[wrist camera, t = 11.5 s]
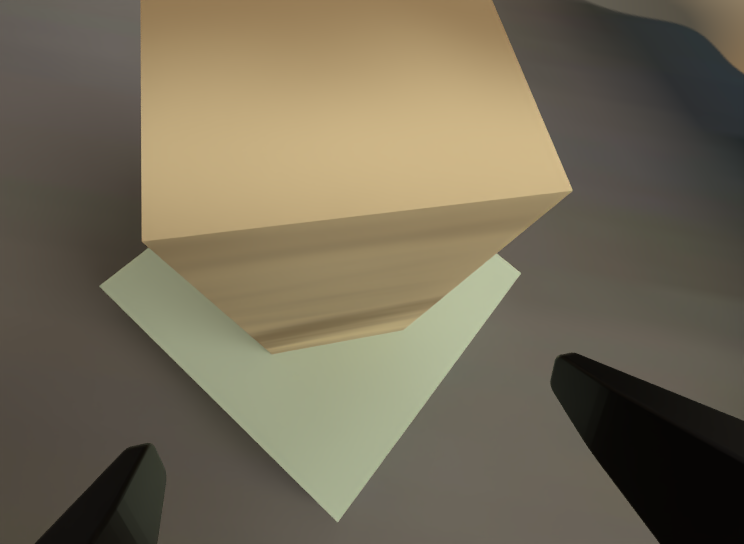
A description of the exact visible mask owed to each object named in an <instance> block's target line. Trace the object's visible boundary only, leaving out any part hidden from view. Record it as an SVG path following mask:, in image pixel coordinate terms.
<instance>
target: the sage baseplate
mask: <svg viewBox="0 0 744 544" xmlns="http://www.w3.org/2000/svg"><path fill="white" fill-rule="evenodd" d="M520 274H521V273H520V272H519V271H517V270H516V269H515V268H514V267H513V266H511V265H510V264H509V263H508V262H506V261H505V260H504V259H503V258H501V257H500V256H499V255H498V254H495V255H494V256H493V257H492V258H490V259H489V260H488V261H487V262H485V263H484V264H483V265H482V266H481V267H479V268H478V269H477V270H476V271H475V272H473V273H472V274H471V275H470V276H468V277H467V278H466V279H465V280H464V281H462V282H461V283H460V284H459V285H458V286H456V287H455V288H454V289H453V290H451V291H450V292H449V293H448V294H447V295H445V296H444V297H443V298H442V299H441V300H439V301H438V302H437V303H436V304H434V305H433V306H432V307H431V308H430V309H428V310H427V311H426V312H425V313H424V314H422V315H421V316H420V317H419V318H417V319H416V320H415V321H414V322H413V323H411V324H410V325H409V326H408V327H407V328H405V329H404V330H401V331H395V332H390V333H385V334H379V335H374V336H368V337H363V338H358V339H352V340H347V341H341V342H336V343H330V344H325V345H320V346H314V347H309V348H303V349H298V350H292V351H287V352H282V353H276V354H271V353H270V352H269V351H267V350H266V349H265V348H264V347H263V346H262V345H260V344H259V343H258V342H257V341H256V340H255V339H254V338H252V337H251V336H250V335H249V334H248V333H247V332H245V331H244V330H243V329H242V328H241V327H240V326H239V325H237V324H236V323H235V322H234V321H233V320H232V319H230V318H229V317H228V316H227V315H226V314H225V313H224V312H222V311H221V310H220V309H219V308H218V307H217V306H215V305H214V304H213V303H212V302H211V301H210V300H209V299H207V298H206V297H205V296H204V295H203V294H202V293H200V292H199V291H198V290H197V289H196V288H195V287H194V286H192V285H191V284H190V283H189V282H188V281H187V280H185V279H184V278H183V277H182V276H181V275H180V274H179V273H177V272H176V271H175V270H174V269H173V268H172V267H170V266H169V265H168V264H167V263H166V262H165V261H164V260H162V259H161V258H160V257H159V256H158V255H157V254H155V253H154V252H153V251H152V250H151V249H150V248H148V249H146V250H145V251H144V252H142V253H141V254H140V255H139V256H137V257H136V258H135V259H133V260H132V261H131V262H130V263H128V264H127V265H126V266H124V267H123V268H122V269H121V270H119V271H118V272H117V273H115V274H114V275H113V276H112V277H110V278H109V279H108V280H106V281H105V282H104V283H103V284H101V285H100V286H99V287H100V288H101V289H102V290H104V291H105V292H106V293H107V294H108V295H109V296H110V297H111V298H112V299H113V300H114V301H115V302H116V303H117V304H118V305H119V306H120V307H121V308H122V309H123V310H124V311H125V312H126V313H127V314H128V315H129V316H130V317H131V318H132V319H133V320H134V321H135V322H136V323H137V324H138V325H139V326H140V327H141V328H142V329H143V330H144V331H145V332H146V333H147V334H148V335H149V336H150V337H151V338H152V339H153V340H154V341H155V342H156V343H157V344H158V345H159V346H160V347H161V348H162V349H163V350H164V351H165V352H166V353H167V354H168V355H169V356H170V357H171V358H172V359H173V360H174V361H175V362H176V363H177V364H178V365H179V366H180V367H181V368H182V369H183V370H184V371H185V372H186V373H187V374H188V375H189V376H190V377H191V378H192V379H193V380H194V381H195V382H196V383H197V384H198V385H199V386H200V387H201V388H202V389H203V390H204V391H205V392H207V393H208V394H209V395H210V396H211V397H212V398H213V399H214V400H215V401H216V402H217V403H218V404H219V405H220V406H221V407H222V408H223V409H224V410H225V411H226V412H227V413H228V414H229V415H230V416H231V417H232V418H233V419H234V420H235V421H236V422H237V423H238V424H239V425H240V426H241V427H242V428H243V429H244V430H245V431H246V432H247V433H248V434H249V435H250V436H251V437H252V438H253V439H254V440H255V441H256V442H257V443H258V444H259V445H260V446H261V447H262V448H263V449H264V450H265V451H266V452H267V453H268V454H269V455H270V456H271V457H272V458H273V459H274V460H275V461H276V462H277V463H278V464H279V465H280V466H281V467H282V468H283V469H284V470H285V471H286V472H287V473H288V474H289V475H290V476H291V477H292V478H293V479H294V480H295V481H296V482H297V483H298V484H299V485H300V486H301V487H302V488H303V489H304V490H305V491H306V492H307V493H308V494H310V495H311V496H312V497H313V498H314V499H315V500H316V501H317V502H318V503H319V504H320V505H321V506H322V507H323V508H324V509H325V510H326V511H327V512H328V513H329V514H330V515H331V516H332V517H333V518H334V519H335V520H336V521H337V522H338V521H339V520H340V518H341V517H342V516H343V514H344V513H345V512H346V510H347V509H348V508H349V506H350V505H351V503H352V502H353V501H354V499H355V498H356V497H357V495H358V494H359V493H360V491H361V490H362V489H363V487H364V486H365V484H366V483H367V482H368V480H369V479H370V478H371V476H372V475H373V474H374V472H375V471H376V469H377V468H378V467H379V465H380V464H381V463H382V461H383V460H384V459H385V457H386V456H387V455H388V453H389V452H390V450H391V449H392V448H393V446H394V445H395V444H396V442H397V441H398V440H399V438H400V437H401V436H402V434H403V433H404V431H405V430H406V429H407V427H408V426H409V425H410V423H411V422H412V421H413V419H414V418H415V417H416V415H417V414H418V412H419V411H420V410H421V408H422V407H423V406H424V404H425V403H426V402H427V400H428V399H429V397H430V396H431V395H432V393H433V392H434V391H435V389H436V388H437V387H438V385H439V384H440V383H441V381H442V380H443V378H444V377H445V376H446V374H447V373H448V372H449V370H450V369H451V368H452V366H453V365H454V364H455V362H456V361H457V359H458V358H459V357H460V355H461V354H462V353H463V351H464V350H465V349H466V347H467V346H468V344H469V343H470V342H471V340H472V339H473V338H474V336H475V335H476V334H477V332H478V331H479V330H480V328H481V327H482V325H483V324H484V323H485V321H486V320H487V319H488V317H489V316H490V315H491V313H492V312H493V311H494V309H495V308H496V306H497V305H498V304H499V302H500V301H501V300H502V298H503V297H504V296H505V294H506V293H507V292H508V290H509V289H510V287H511V286H512V285H513V283H514V282H515V281H516V279H517V278H518V277H519V275H520Z"/></svg>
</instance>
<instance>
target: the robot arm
mask: <svg viewBox="0 0 744 544" xmlns="http://www.w3.org/2000/svg"><path fill="white" fill-rule="evenodd" d="M550 383H551V388H552V390H553V392H554V394H555V395H556V397H557V399H558V400H559V402H560V403H561V405H562V407H563V408H564V410H565V412H566V413H567V415H568V416H569V418H570V420H571V421H572V423H573V424H574V426H575V428H576V429H577V431H578V432H579V434H580V436H581V437H582V439H583V440H584V442H585V443H586V445H587V446H588V448H589V450H590V451H591V452H592V454H593V455H594V456H595V458H596V459H597V461H598V462H599V463H600V465H601V466H602V467H603V469H604V470H605V471H606V473H607V474H608V475H609V477H610V478H611V479H612V481H613V482H614V483H615V485H616V486H617V487H618V489H619V490H620V491H621V493H622V494H623V495H624V497H625V498H626V499H627V501H628V502H629V503H630V505H631V506H632V507H633V509H634V510H635V511H636V513H637V514H638V515H639V517H640V518H641V519H642V521H643V522H644V523H645V525H646V526H647V527H648V529H649V530H650V531H651V533H652V534H653V535H654V537H655V538H656V539H657V541H658V542H659V543H660V544H744V421H743V420H740V419H738V418H735V417H733V416H730V415H728V414H725V413H723V412H720V411H718V410H715V409H713V408H710V407H708V406H706V405H703V404H701V403H698V402H696V401H693V400H691V399H688V398H686V397H683V396H681V395H678V394H676V393H673V392H671V391H668V390H666V389H663V388H661V387H659V386H656V385H654V384H651V383H649V382H646V381H644V380H641V379H639V378H636V377H634V376H631V375H629V374H626V373H624V372H621V371H619V370H616V369H614V368H612V367H609V366H607V365H604V364H602V363H599V362H597V361H594V360H592V359H589V358H587V357H584V356H582V355H579V354H577V353H567V354H563V355H559V356H557V358H556V359H555V363H554V367H553V371H552V376H551V381H550ZM165 485H166V471H165V468H164V466H163V464H162V461H161V459H160V457H159V455H158V453H157V451H156V448H155V447H154V445H153V444H151V443H146V444H141V445H136V446H132V447H129V448H127V449H126V450H124V451H123V452H122V453H121V454H120V455H119V456H118V457H117V459H116V460H115V461H114V462H113V463H112V464H111V465H110V466H109V467H108V468H107V469H106V470H105V471H104V472H103V473H102V474H101V475H100V476H99V477H98V478H97V479H96V480H95V481H94V482H93V483H92V485H91V486H90V487H89V488H88V489H87V490H86V491H85V492H84V493H83V494H82V495H81V496H80V497H79V498H78V499H77V500H76V501H75V502H74V503H73V504H72V505H71V506H70V507H69V508H68V510H67V511H66V512H65V513H64V514H63V515H62V516H61V517H60V518H59V519H58V520H57V521H56V522H55V523H54V524H53V525H52V526H51V527H50V528H49V529H48V530H47V531H46V532H45V533H44V535H43V536H42V537H41V538H40V539H39V540H38V541H37V542H36V543H35V544H157V541H158V534H159V527H160V520H161V513H162V506H163V499H164V492H165Z"/></svg>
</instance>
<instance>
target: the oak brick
mask: <svg viewBox="0 0 744 544" xmlns="http://www.w3.org/2000/svg"><path fill="white" fill-rule="evenodd" d="M141 189H142V242H143V243H144V244H145V245H146V246H147V247H148V248H150V249H151V250H152V251H153V252H154V253H155V254H157V255H158V256H159V257H160V258H161V259H162V260H164V261H165V262H166V263H167V264H168V265H169V266H170V267H172V268H173V269H174V270H175V271H176V272H177V273H179V274H180V275H181V276H182V277H183V278H184V279H185V280H187V281H188V282H189V283H190V284H191V285H192V286H194V287H195V288H196V289H197V290H198V291H199V292H200V293H202V294H203V295H204V296H205V297H206V298H207V299H209V300H210V301H211V302H212V303H213V304H214V305H215V306H217V307H218V308H219V309H220V310H221V311H222V312H224V313H225V314H226V315H227V316H228V317H229V318H230V319H232V320H233V321H234V322H235V323H236V324H237V325H239V326H240V327H241V328H242V329H243V330H244V331H245V332H247V333H248V334H249V335H250V336H251V337H252V338H254V339H255V340H256V341H257V342H258V343H259V344H260V345H262V346H263V347H264V348H265V349H266V350H267V351H269V352H270V353H271V354H276V353H282V352H287V351H292V350H298V349H303V348H309V347H314V346H320V345H325V344H330V343H336V342H341V341H347V340H352V339H358V338H363V337H368V336H374V335H379V334H385V333H390V332H395V331H401V330H404V329H405V328H407V327H408V326H409V325H410V324H411V323H413V322H414V321H415V320H416V319H417V318H419V317H420V316H421V315H422V314H424V313H425V312H426V311H427V310H428V309H430V308H431V307H432V306H433V305H434V304H436V303H437V302H438V301H439V300H441V299H442V298H443V297H444V296H445V295H447V294H448V293H449V292H450V291H451V290H453V289H454V288H455V287H456V286H458V285H459V284H460V283H461V282H462V281H464V280H465V279H466V278H467V277H468V276H470V275H471V274H472V273H473V272H475V271H476V270H477V269H478V268H479V267H481V266H482V265H483V264H484V263H485V262H487V261H488V260H489V259H490V258H492V257H493V256H494V255H495V254H496V253H498V252H499V251H500V250H501V249H502V248H504V247H505V246H506V245H507V244H509V243H510V242H511V241H512V240H513V239H515V238H516V237H517V236H518V235H519V234H521V233H522V232H523V231H524V230H526V229H527V228H528V227H529V226H530V225H532V224H533V223H534V222H535V221H537V220H538V219H539V218H540V217H541V216H543V215H544V214H545V213H546V212H547V211H549V210H550V209H551V208H552V207H554V206H555V205H556V204H557V203H558V202H560V201H561V200H562V199H563V198H564V197H566V196H567V195H568V194H569V193H571V192H572V191H573V190H572V188H571V185H570V183H569V181H568V178H567V176H566V174H565V171H564V169H563V166H562V164H561V162H560V159H559V157H558V155H557V152H556V150H555V148H554V145H553V143H552V141H551V138H550V136H549V133H548V131H547V129H546V126H545V124H544V122H543V119H542V117H541V115H540V112H539V110H538V108H537V105H536V103H535V100H534V98H533V96H532V93H531V91H530V89H529V86H528V84H527V82H526V79H525V77H524V75H523V72H522V70H521V67H520V65H519V63H518V60H517V58H516V56H515V53H514V51H513V49H512V46H511V44H510V42H509V39H508V37H507V35H506V32H505V30H504V27H503V25H502V23H501V20H500V18H499V16H498V13H497V11H496V9H495V6H494V4H493V2H492V0H141Z"/></svg>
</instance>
